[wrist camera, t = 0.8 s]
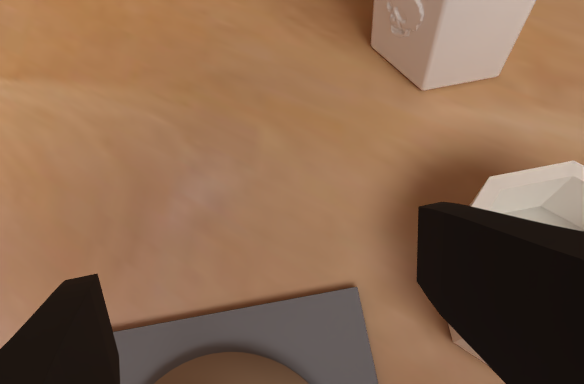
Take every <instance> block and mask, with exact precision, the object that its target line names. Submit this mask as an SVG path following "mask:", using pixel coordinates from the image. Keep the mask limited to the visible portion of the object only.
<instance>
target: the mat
mask: <svg viewBox="0 0 584 384" xmlns="http://www.w3.org/2000/svg"><path fill="white" fill-rule="evenodd" d="M113 334H114V338H115V342H116V346H117V349H118V353H119V365H120V384H154V383H155V382H156V381H157V380H159V379H160V378H161V377H163V376H164V375H165V374H167V373H168V372H169V371H171V370H172V369H174V368H176V367H178V366H180V365H181V364H183V363H185V362H188V361H190V360H193V359H195V358H198V357H201V356H205V355H209V354H213V353H222V352H244V353H250V354H255V355H259V356H262V357H265V358H269V359H272V360H274V361H276V362H278V363H280V364H283V365H285V366H287V367H288V368H290V369H291V370H293V371H294V372H296V373H297V374H299V375H300V376H301V377H302V378H303V379H304V380H306V381H307V382H308V383H309V384H378V380H377V376H376V371H375V367H374V362H373V357H372V353H371V348H370V344H369V339H368V334H367V330H366V325H365V321H364V316H363V311H362V307H361V302H360V298H359V293H358V288H357V287H353V288H348V289H343V290H337V291H332V292H326V293H321V294H316V295H310V296H305V297H300V298H294V299H289V300H283V301H278V302H273V303H267V304H262V305H256V306H251V307H246V308H240V309H235V310H229V311H224V312H219V313H213V314H208V315H203V316H197V317H192V318H186V319H181V320H176V321H170V322H165V323H159V324H154V325H149V326H143V327H138V328H132V329H127V330H122V331H116V332H113Z"/></svg>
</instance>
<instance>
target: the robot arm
mask: <svg viewBox="0 0 584 384" xmlns="http://www.w3.org/2000/svg"><path fill="white" fill-rule="evenodd" d="M417 282H418V284H419V285H420V287H421V288H422V290H423V291H424V293H425V294H426V296H427V297H428V299H429V300H430V301H431V303H432V304H433V305H434V307H435V308H436V310H437V311H438V312H439V314H440V315H441V316H442V317H443V318H444V319H445V320H446V321H447V322H448V323H449V325H450V326H451V327H452V328H453V329H454V330H455V331H456V332H457V333H458V334H459V335H460V336H461V337H462V338H463V339H464V340H465V342H466V343H467V344H468V345H469V346H470V347H471V348H472V349H473V350H474V351H475V352H476V353H477V354H478V355H479V356H480V357H481V358H482V359H483V360H484V361H485V362H486V363H487V364H488V365H489V367H490V368H491V369H492V370H493V371H494V372H495V373H496V374H497V375H498V376H499V377H500V378H501V379H502V380H503V381H504V382H505V383H506V384H584V231H579V230H574V229H569V228H564V227H559V226H554V225H549V224H545V223H540V222H536V221H531V220H527V219H523V218H519V217H514V216H510V215H506V214H502V213H498V212H493V211H489V210H485V209H481V208H476V207H471V206H466V205H461V204H455V203H447V202H439V203H434V204H429V205H425V206H420V207H419V215H418V252H417ZM0 384H120V365H119V353H118V349H117V346H116V342H115V338H114V334H113V331H112V327H111V323H110V319H109V316H108V312H107V308H106V304H105V301H104V297H103V293H102V289H101V286H100V282H99V278H98V274H93V275H88V276H84V277H79V278H74V279H69V280H65V281H64V282H63V283H62V284H61V285H60V286H59V287H58V288H57V289H56V290H55V291H54V292H53V293H52V294H51V295H50V296H49V297H48V299H47V300H46V301H45V302H44V303H43V304H42V305H41V306H40V308H39V309H38V310H37V311H36V312H35V313H34V314H33V315H32V316H31V317H30V318H29V320H28V321H27V322H26V323H25V324H24V325H23V326H22V327H21V328H20V329H19V330H18V331H17V333H16V334H15V335H14V336H13V337H12V338H11V339H10V340H9V341H8V342H7V343H6V344H5V345H4V346H3V347H2V348H1V349H0Z"/></svg>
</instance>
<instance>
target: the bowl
mask: <svg viewBox="0 0 584 384" xmlns="http://www.w3.org/2000/svg"><path fill="white" fill-rule="evenodd" d="M469 206H471V207H476V208H481V209H485V210H489V211H493V212H498V213H502V214H506V215H510V216H514V217H519V218H523V219H527V220H531V221H536V222H540V223H545V224H549V225H554V226H559V227H564V228H569V229H574V230H579V231H584V165H582V164H580V163H578V162H576V161H569V162H564V163H558V164H553V165H548V166H543V167H538V168H532V169H527V170H522V171H517V172H511V173H506V174H501V175H496V176H491V177H489V178H488V179H487V181H486V182H485V184H484V185H483V187H482V188H481V189H480V191H479V192H478V194H477V195H476V197H475V198H474V200H473V201H472V202H471V204H470V205H469ZM448 326H449V329H450V333H451V336H452V340H453V342H454V343H455V344H457V345H458V346H460V347H461V348H463V349H464V350H466V351H467V352H469V353H470V354H472V355H473V356H475V357H476V358H478V359H479V360H481V361H482V362H484V363H485V364H487V363H486V362H485V361H484V360H483V359H482V358H481V357H480V356H479V355H478V354H477V353H476V352H475V351H474V350H473V349H472V348H471V347H470V346H469V345H468V344H467V343H466V342H465V340H464V339H463V338H462V337H461V336H460V335H459V334H458V333H457V332H456V331H455V330H454V329H453V328H452V327H451V326H450V325H449V323H448ZM487 365H488V364H487ZM488 366H489V365H488Z"/></svg>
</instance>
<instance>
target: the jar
mask: <svg viewBox="0 0 584 384" xmlns="http://www.w3.org/2000/svg"><path fill="white" fill-rule="evenodd" d="M535 2H536V0H374V4H373V18H372V32H371V46H372V48H374V49H375V50H376V51H377V52H378V53H379V54H380V55H382V56H383V57H384V58H385V59H386V60H387V61H389V62H390V63H391V64H392V65H393V66H394V67H395V68H397V69H398V70H399V71H400V72H401V73H402V74H403V75H405V76H406V77H407V78H408V79H409V80H410V81H411V82H413V83H414V84H415V85H416V86H417V87H418V88H419V89H421V90H423V91H424V90H430V89H435V88H440V87H445V86H451V85H456V84H461V83H467V82H472V81H477V80H482V79H488V78H493V77H497V76H498V75H499V74H500V72H501V70H502V68H503V66H504V64H505V62H506V60H507V58H508V56H509V54H510V52H511V50H512V48H513V46H514V44H515V42H516V40H517V38H518V36H519V34H520V32H521V30H522V28H523V26H524V24H525V22H526V20H527V18H528V16H529V14H530V12H531V10H532V8H533V6H534V4H535Z"/></svg>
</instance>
